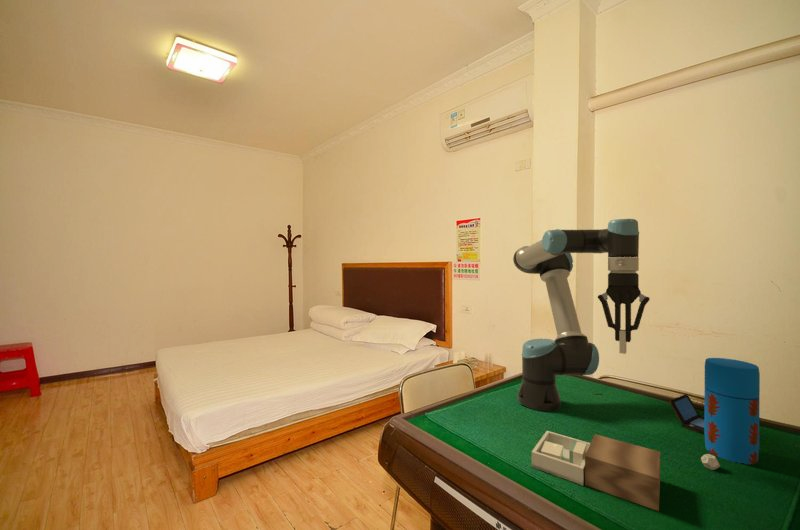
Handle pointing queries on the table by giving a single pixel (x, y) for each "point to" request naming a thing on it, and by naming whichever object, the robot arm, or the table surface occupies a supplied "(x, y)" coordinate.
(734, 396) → the thermos
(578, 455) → the tile
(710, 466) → the game die
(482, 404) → the table surface
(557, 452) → the tile
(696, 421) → the handheld game console
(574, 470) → the bin
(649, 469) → the walnut block
